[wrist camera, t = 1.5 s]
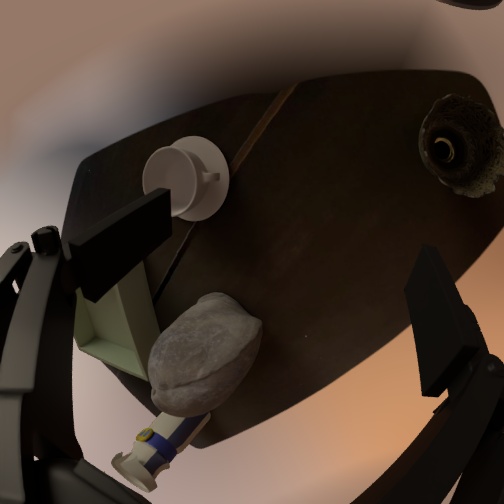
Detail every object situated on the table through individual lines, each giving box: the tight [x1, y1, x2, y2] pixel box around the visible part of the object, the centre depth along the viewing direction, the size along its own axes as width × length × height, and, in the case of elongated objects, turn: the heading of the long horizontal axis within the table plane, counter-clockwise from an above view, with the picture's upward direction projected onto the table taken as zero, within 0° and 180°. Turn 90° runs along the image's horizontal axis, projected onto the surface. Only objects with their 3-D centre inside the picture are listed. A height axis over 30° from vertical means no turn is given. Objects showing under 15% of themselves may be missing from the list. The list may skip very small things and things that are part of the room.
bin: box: [74, 260, 161, 381], centre depth 42 cm, size 21×21×6 cm
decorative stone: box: [148, 292, 263, 417], centre depth 29 cm, size 15×10×15 cm
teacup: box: [143, 136, 229, 221], centre depth 29 cm, size 10×10×5 cm
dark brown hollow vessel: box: [419, 94, 504, 198], centre depth 17 cm, size 8×7×8 cm
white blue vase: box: [104, 412, 211, 492], centre depth 34 cm, size 8×9×25 cm
